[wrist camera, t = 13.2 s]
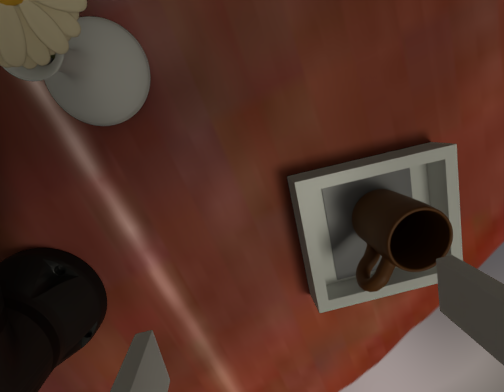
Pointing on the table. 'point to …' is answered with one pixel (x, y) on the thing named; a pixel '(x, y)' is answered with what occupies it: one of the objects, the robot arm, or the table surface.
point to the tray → (341, 208)
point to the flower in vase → (75, 58)
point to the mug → (398, 236)
